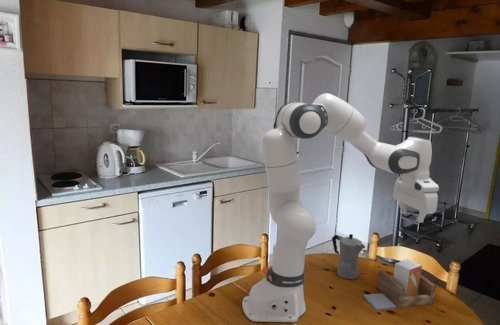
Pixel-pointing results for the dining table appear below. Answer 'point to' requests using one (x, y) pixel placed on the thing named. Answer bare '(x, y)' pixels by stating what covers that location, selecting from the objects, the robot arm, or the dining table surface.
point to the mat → (379, 301)
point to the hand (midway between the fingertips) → (411, 217)
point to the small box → (408, 276)
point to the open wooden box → (397, 291)
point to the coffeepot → (348, 255)
